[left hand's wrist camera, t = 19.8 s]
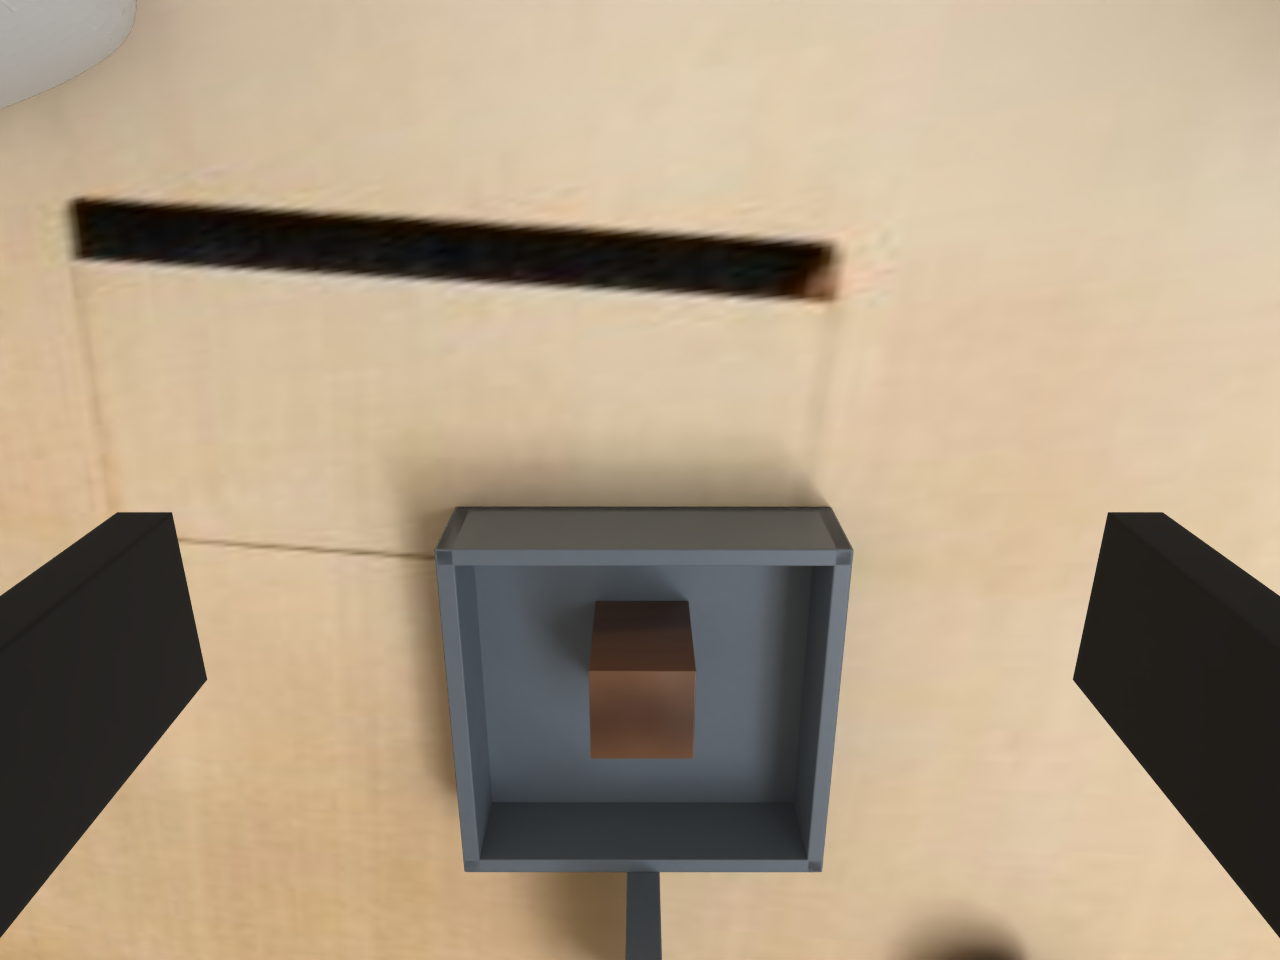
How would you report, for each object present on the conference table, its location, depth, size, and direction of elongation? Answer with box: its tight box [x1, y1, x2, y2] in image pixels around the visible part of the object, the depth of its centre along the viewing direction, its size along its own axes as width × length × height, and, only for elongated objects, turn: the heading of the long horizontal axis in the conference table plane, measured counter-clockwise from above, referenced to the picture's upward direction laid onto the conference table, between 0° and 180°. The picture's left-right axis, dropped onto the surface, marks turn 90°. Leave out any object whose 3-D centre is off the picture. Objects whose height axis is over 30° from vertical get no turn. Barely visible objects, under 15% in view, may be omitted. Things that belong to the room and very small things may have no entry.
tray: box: [435, 507, 853, 960], centre depth 42 cm, size 31×18×10 cm, turn 0°
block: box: [589, 601, 696, 759], centre depth 40 cm, size 4×4×6 cm
